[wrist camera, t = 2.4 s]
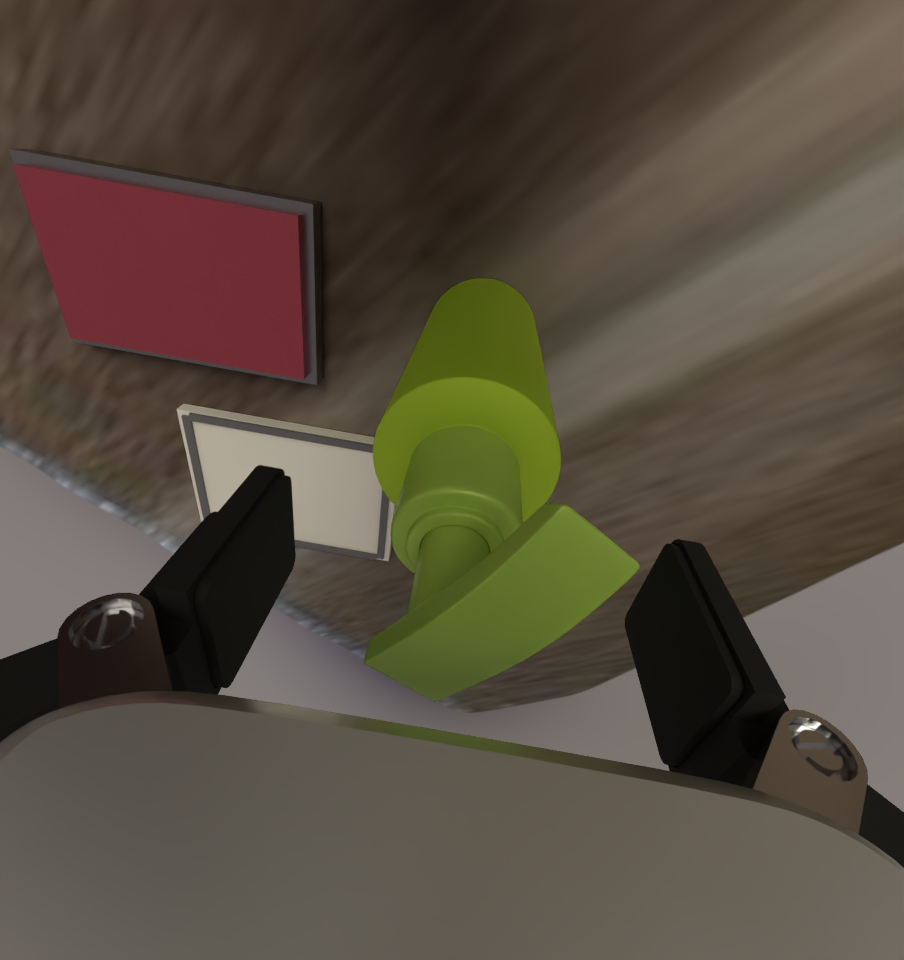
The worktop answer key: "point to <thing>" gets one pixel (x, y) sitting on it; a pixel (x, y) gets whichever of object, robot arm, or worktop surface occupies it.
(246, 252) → the ink pad
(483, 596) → the soap dispenser
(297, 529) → the marked card
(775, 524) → the worktop surface
